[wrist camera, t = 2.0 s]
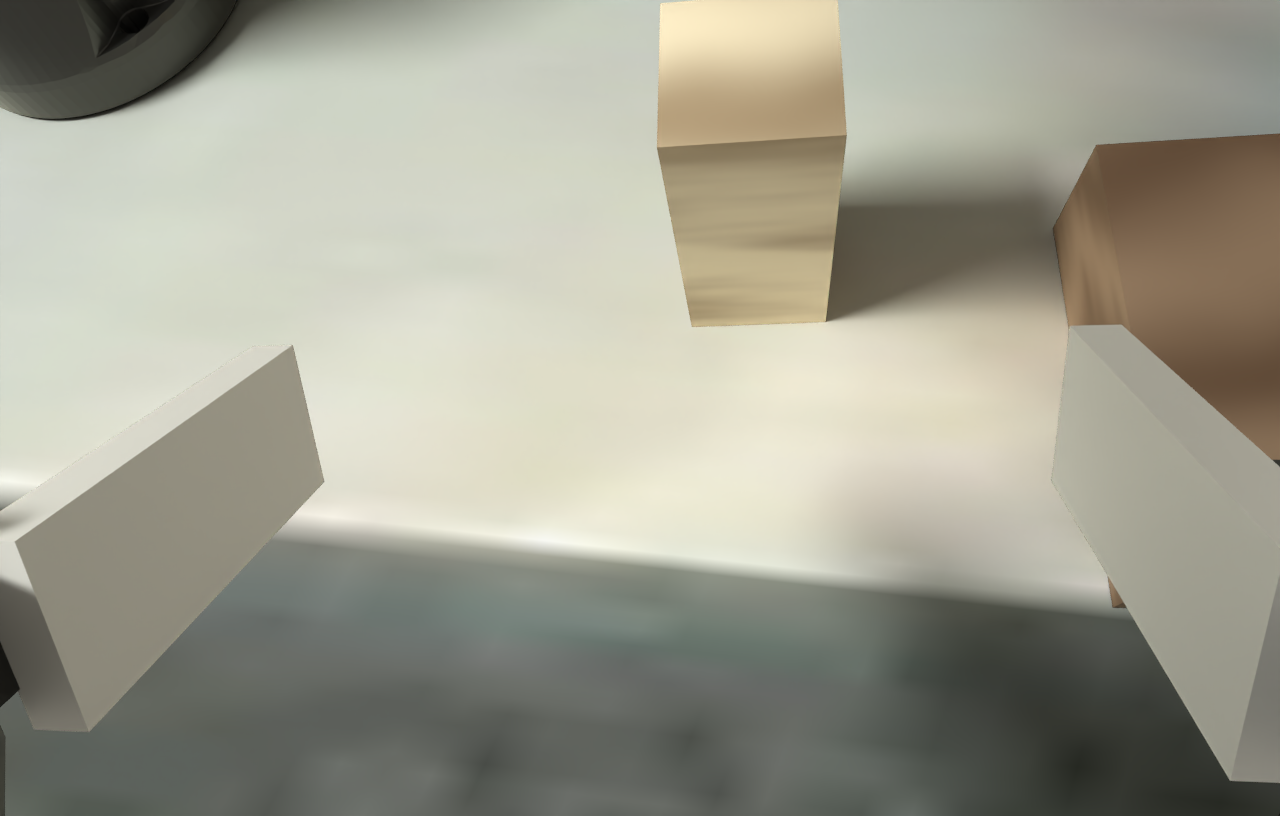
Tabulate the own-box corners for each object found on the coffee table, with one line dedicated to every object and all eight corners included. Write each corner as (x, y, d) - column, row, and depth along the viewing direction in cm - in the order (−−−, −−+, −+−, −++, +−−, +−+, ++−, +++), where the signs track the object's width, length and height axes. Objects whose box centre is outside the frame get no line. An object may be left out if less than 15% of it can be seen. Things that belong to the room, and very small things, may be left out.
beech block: (692, 214, 37) (660, 3, 26) (819, 207, 36) (836, -12, 26) (692, 326, 35) (657, 147, 25) (825, 321, 34) (846, 134, 24)
